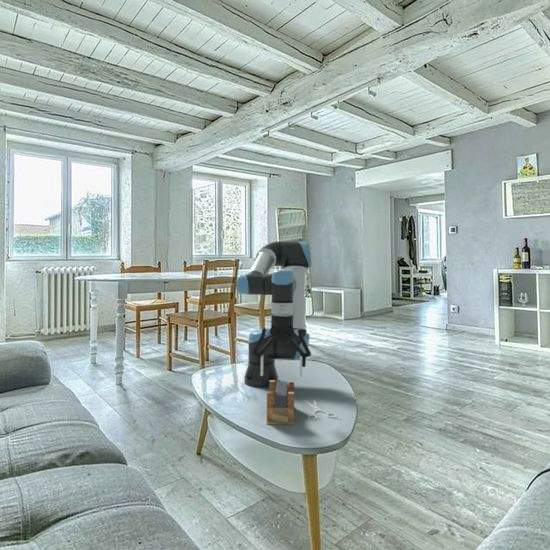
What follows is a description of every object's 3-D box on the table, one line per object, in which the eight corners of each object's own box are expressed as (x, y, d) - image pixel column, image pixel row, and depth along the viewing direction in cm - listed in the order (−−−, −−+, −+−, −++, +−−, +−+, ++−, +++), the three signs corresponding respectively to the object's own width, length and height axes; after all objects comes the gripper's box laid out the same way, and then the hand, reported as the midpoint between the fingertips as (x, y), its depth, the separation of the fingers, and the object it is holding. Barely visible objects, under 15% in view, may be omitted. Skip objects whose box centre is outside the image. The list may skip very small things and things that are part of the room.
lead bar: (276, 391, 142) (276, 381, 142) (287, 392, 142) (287, 381, 142) (274, 407, 127) (274, 395, 127) (286, 407, 127) (286, 395, 127)
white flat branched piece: (311, 421, 129) (295, 399, 148) (311, 423, 129) (295, 401, 149) (341, 418, 131) (322, 397, 151) (341, 421, 131) (322, 399, 151)
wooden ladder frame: (269, 405, 143) (269, 379, 142) (293, 406, 142) (294, 379, 142) (266, 424, 127) (266, 394, 126) (293, 425, 126) (294, 395, 126)
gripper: (245, 315, 130) (244, 377, 130) (319, 316, 129) (317, 379, 129) (247, 312, 137) (246, 371, 138) (317, 314, 136) (316, 373, 137)
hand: (281, 375), depth 134 cm, fingers open, 13 cm apart
